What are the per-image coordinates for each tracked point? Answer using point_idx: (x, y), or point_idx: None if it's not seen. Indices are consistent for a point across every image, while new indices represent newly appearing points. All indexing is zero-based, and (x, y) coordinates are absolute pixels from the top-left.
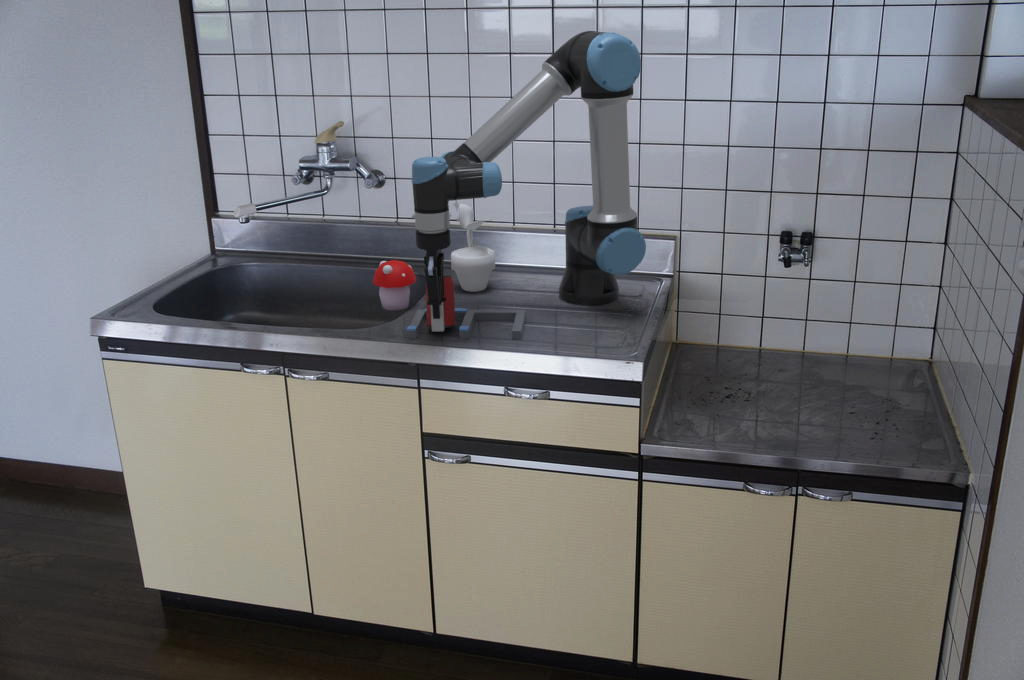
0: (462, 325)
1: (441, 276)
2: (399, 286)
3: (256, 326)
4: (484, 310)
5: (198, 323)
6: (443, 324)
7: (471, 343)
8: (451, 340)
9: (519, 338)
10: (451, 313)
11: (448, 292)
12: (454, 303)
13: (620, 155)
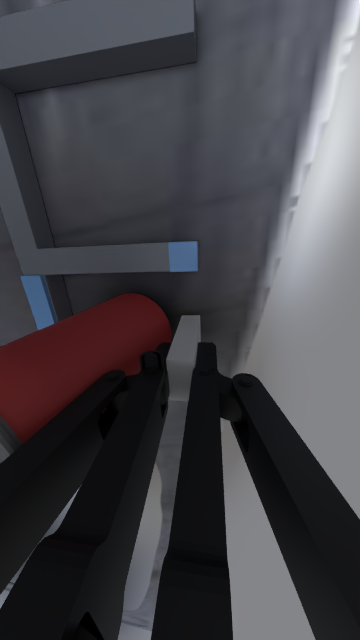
0: (151, 267)
1: (100, 487)
2: None
3: (159, 554)
4: (10, 218)
5: (156, 589)
6: (195, 322)
7: (234, 223)
8: (209, 287)
9: (195, 18)
10: (131, 311)
11: (81, 356)
12: (80, 314)
13: None
